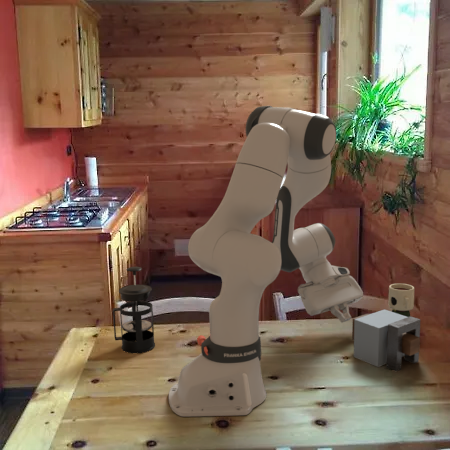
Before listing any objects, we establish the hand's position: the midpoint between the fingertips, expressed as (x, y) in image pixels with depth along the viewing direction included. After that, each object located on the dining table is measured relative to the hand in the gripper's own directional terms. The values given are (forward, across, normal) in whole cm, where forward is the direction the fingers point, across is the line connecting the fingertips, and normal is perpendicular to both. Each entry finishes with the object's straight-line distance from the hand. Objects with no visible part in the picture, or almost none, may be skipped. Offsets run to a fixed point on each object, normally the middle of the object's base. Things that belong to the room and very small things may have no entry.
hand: (346, 320), depth 162 cm
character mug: (+7, +19, +2) cm, 21 cm away
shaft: (+12, 0, -7) cm, 14 cm away
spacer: (+18, 0, -9) cm, 20 cm away
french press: (-20, -48, +29) cm, 59 cm away
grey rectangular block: (+13, 0, -4) cm, 14 cm away
